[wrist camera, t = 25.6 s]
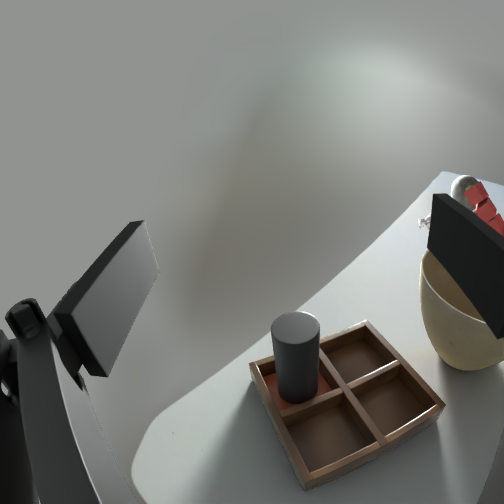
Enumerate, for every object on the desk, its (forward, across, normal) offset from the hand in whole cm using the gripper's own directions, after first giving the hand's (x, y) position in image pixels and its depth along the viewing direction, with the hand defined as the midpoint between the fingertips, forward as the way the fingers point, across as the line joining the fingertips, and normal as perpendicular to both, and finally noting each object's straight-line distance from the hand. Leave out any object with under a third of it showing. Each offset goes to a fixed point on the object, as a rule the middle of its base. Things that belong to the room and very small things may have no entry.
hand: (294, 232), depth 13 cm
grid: (+7, +5, -25) cm, 27 cm away
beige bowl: (+12, +24, -25) cm, 36 cm away
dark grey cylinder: (+10, 0, -24) cm, 26 cm away
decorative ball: (+59, +53, -25) cm, 83 cm away
